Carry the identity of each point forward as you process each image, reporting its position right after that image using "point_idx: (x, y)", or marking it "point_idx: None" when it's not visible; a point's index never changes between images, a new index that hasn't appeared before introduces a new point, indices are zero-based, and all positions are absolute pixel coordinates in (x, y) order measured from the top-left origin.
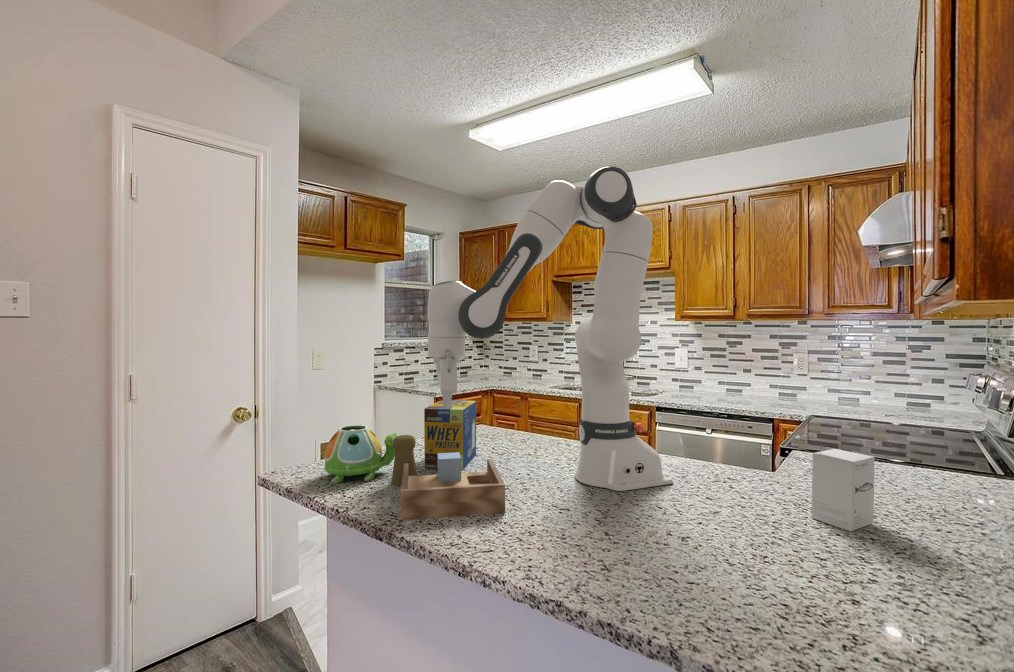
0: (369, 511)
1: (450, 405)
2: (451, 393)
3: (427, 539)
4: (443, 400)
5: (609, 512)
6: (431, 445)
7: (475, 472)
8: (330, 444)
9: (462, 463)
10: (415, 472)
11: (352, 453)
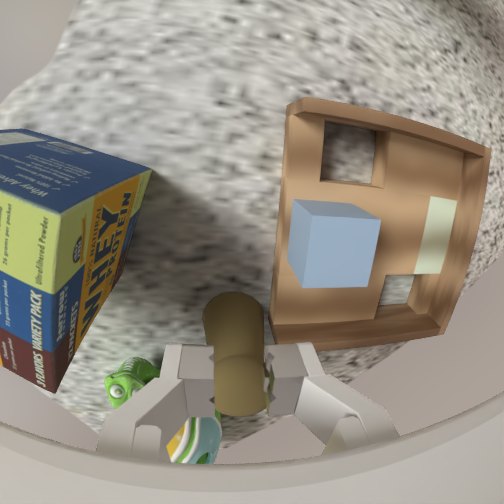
0: (368, 354)
1: (315, 357)
2: (387, 420)
3: (475, 271)
4: (213, 410)
5: (466, 5)
6: (106, 286)
7: (292, 150)
8: None
9: (148, 172)
10: (246, 310)
11: (217, 441)
